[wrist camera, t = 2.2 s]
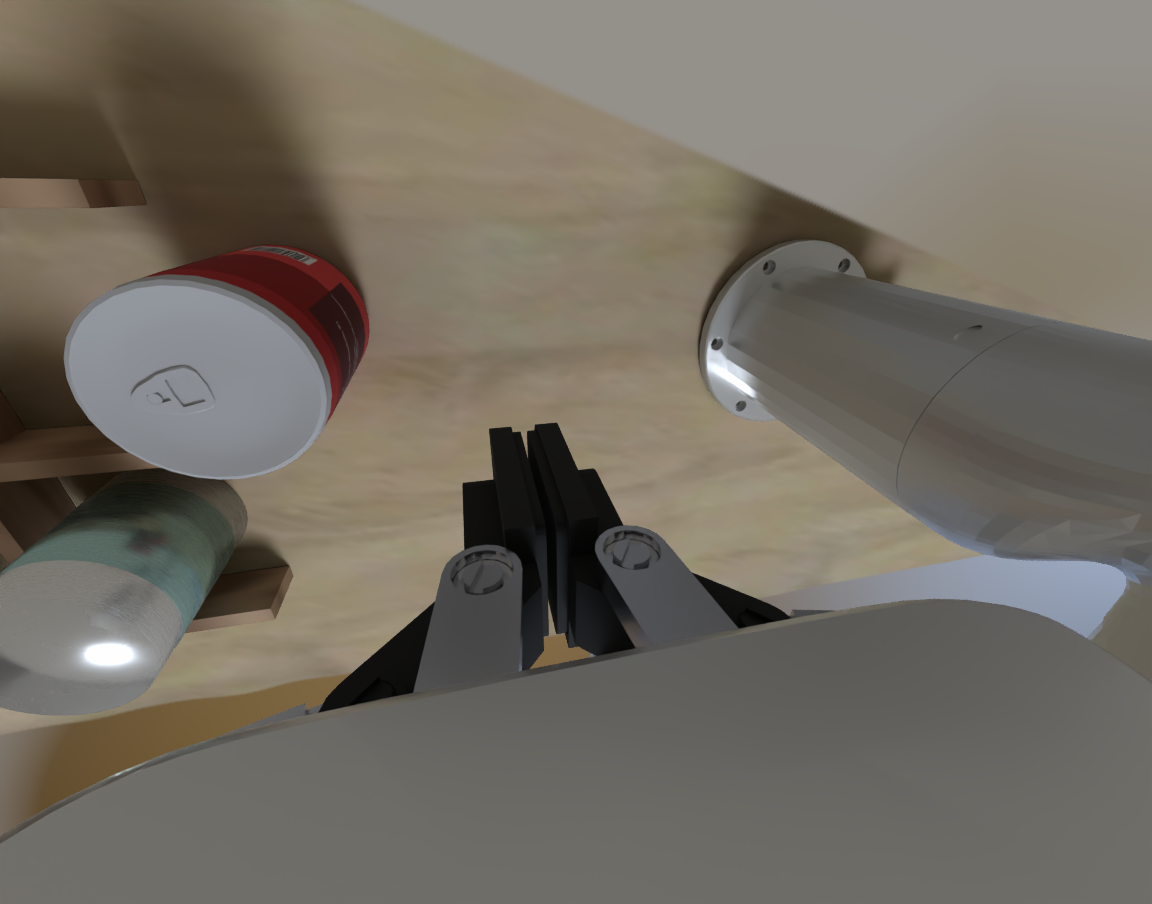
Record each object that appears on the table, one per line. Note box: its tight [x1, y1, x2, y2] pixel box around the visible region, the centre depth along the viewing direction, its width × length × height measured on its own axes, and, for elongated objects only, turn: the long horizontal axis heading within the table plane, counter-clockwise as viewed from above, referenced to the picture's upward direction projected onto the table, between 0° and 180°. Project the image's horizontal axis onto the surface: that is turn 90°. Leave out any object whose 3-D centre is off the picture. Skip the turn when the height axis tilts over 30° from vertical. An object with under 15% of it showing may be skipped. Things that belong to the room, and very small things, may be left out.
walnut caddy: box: [0, 178, 293, 633], centre depth 25 cm, size 11×25×4 cm, turn 179°
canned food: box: [64, 245, 370, 480], centre depth 21 cm, size 8×8×11 cm
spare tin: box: [0, 468, 248, 715], centre depth 25 cm, size 8×8×11 cm
